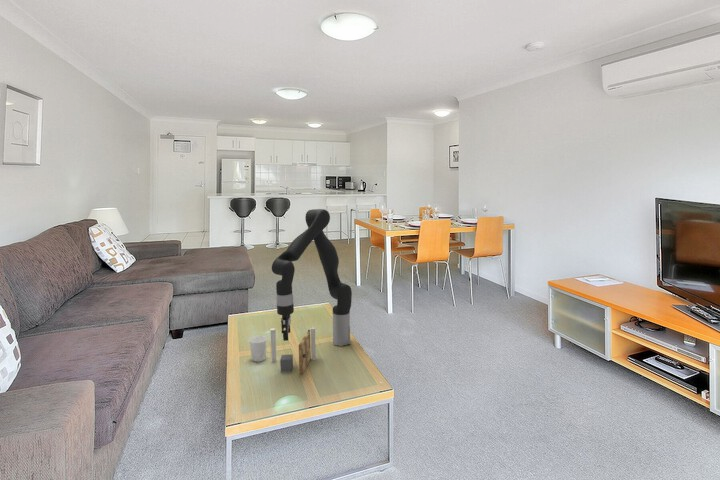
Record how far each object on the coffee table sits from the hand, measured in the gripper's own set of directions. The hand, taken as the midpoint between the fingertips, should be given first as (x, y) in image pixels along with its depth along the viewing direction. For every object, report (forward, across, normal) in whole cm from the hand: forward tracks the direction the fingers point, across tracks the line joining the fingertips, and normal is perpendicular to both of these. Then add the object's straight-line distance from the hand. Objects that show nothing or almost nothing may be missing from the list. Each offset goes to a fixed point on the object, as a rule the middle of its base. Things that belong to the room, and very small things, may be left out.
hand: (287, 336), depth 170 cm
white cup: (+15, +10, +16) cm, 24 cm away
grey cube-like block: (+15, -1, +1) cm, 16 cm away
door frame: (+16, +8, -2) cm, 17 cm away
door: (+16, 0, -8) cm, 18 cm away
